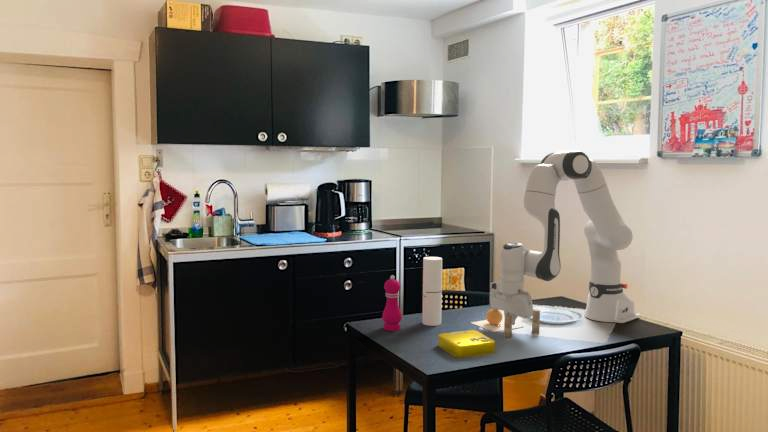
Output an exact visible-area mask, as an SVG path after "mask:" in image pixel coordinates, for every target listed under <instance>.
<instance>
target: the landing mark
mask: <svg viewBox="0 0 768 432" xmlns="http://www.w3.org/2000/svg"><path fill="white" fill-rule="evenodd" d="M502 320H503V318H502ZM504 321H505V319H504V320H503V321H501V322H500V323H499V324H497V325H492V324H490V323H489V322H488V321H487V319H484V320H478V321H471V322H470V324H472V325H474V326H476V327H480V328H482V329H484V328H485V329H484V330H487V331H489V330H490V331H489V332H492V333H499V332H504ZM502 324H503V325H502ZM498 325H499V326H498ZM501 325H502V326H501ZM520 327H522V328H524V326H522V325H520V324H518V323H515V325H512V330H515V328H516V329H521V328H520ZM498 331H499V332H498Z"/></svg>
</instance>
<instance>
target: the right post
mask: <svg viewBox="0 0 768 432" xmlns="http://www.w3.org/2000/svg"><path fill="white" fill-rule="evenodd" d="M531 318H532V319H531V320H532V321H531V333H532V332H533V334H539V333H540V322H541V310H540V309H533V315H532V317H531Z"/></svg>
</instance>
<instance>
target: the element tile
mask: <svg viewBox="0 0 768 432" xmlns="http://www.w3.org/2000/svg"><path fill="white" fill-rule="evenodd" d="M437 338H438V339H437V345H438V348H440V349H442V350H443V351H444V352H446V353H448V354H449V355H451V356H452V357H454V358H460V359H462V358H471V357H479V356H484V355H493V354H495V352H496V341H495V340H494V339H492V338H491V337H489V336H487V335H485V334H483V333H481V332H480V331H477V330H476V329H470V330H460V331H452V332H444V333H443V332H442V333H439V334H438V337H437Z"/></svg>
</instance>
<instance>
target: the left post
mask: <svg viewBox="0 0 768 432" xmlns="http://www.w3.org/2000/svg"><path fill="white" fill-rule="evenodd" d="M504 320H505V321H504V331H503V337H504V338H505V339H512V333H513V332H512V331H513V329H512V315H511V314H506V315H504Z"/></svg>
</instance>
